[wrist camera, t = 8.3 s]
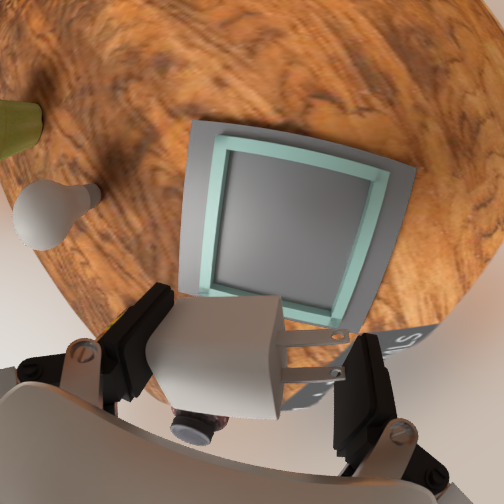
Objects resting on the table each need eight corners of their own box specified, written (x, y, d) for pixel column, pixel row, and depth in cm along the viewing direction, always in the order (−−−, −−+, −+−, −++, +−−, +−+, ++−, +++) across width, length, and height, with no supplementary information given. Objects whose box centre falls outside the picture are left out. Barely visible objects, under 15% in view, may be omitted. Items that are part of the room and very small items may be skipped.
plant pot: (60, 109, 22) (1, 114, 14) (37, 172, 26) (-14, 189, 18) (32, 81, 21) (-17, 83, 13) (12, 139, 25) (-33, 150, 17)
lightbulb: (127, 189, 24) (42, 224, 14) (104, 231, 27) (31, 275, 17) (92, 154, 24) (7, 174, 14) (73, 196, 26) (-1, 228, 16)
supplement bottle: (192, 360, 32) (154, 431, 22) (207, 331, 29) (165, 410, 19) (234, 381, 32) (208, 455, 22) (254, 355, 29) (229, 440, 19)
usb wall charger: (183, 290, 12) (140, 348, 8) (344, 284, 10) (357, 354, 7) (204, 355, 13) (176, 414, 10) (341, 356, 12) (345, 425, 8)
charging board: (197, 120, 21) (187, 119, 19) (411, 166, 19) (421, 169, 17) (183, 285, 27) (174, 296, 25) (356, 326, 25) (358, 340, 23)
